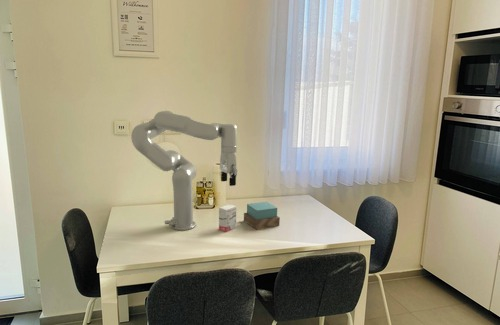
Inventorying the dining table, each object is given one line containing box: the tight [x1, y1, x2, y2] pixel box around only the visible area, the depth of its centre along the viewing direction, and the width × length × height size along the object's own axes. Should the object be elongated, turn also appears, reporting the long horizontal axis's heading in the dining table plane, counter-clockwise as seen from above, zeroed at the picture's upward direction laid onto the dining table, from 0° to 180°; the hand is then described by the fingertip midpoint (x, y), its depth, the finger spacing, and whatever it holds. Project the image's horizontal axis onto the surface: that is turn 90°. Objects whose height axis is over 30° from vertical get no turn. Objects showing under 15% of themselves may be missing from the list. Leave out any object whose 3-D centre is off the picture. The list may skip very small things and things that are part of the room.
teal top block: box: [246, 201, 278, 220], centre depth 198 cm, size 12×12×5 cm
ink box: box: [218, 204, 237, 233], centre depth 189 cm, size 9×5×12 cm, turn 143°
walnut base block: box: [243, 212, 281, 231], centre depth 199 cm, size 14×14×5 cm
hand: (228, 183), depth 185 cm, fingers open, 9 cm apart
